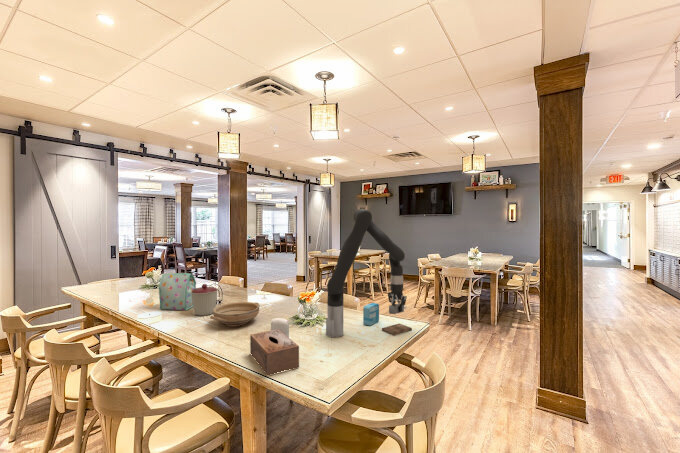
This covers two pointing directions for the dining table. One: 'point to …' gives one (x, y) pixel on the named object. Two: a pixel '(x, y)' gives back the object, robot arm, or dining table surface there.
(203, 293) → the canister
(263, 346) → the tissue box cover
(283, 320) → the photo printer
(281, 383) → the dining table surface
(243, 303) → the ceramic bowl
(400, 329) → the walnut board
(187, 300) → the lunch bag
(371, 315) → the data package
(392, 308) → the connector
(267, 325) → the dining table surface
